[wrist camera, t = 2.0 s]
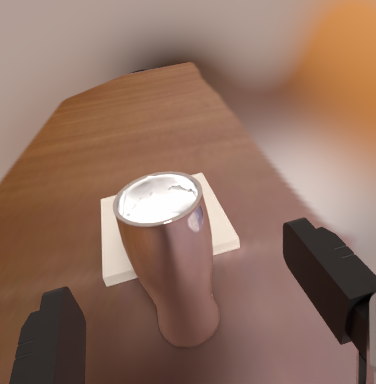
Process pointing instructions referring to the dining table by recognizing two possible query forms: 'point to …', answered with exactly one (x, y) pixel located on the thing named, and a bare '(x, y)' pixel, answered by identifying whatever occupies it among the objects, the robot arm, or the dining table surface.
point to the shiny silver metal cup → (171, 252)
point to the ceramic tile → (114, 250)
